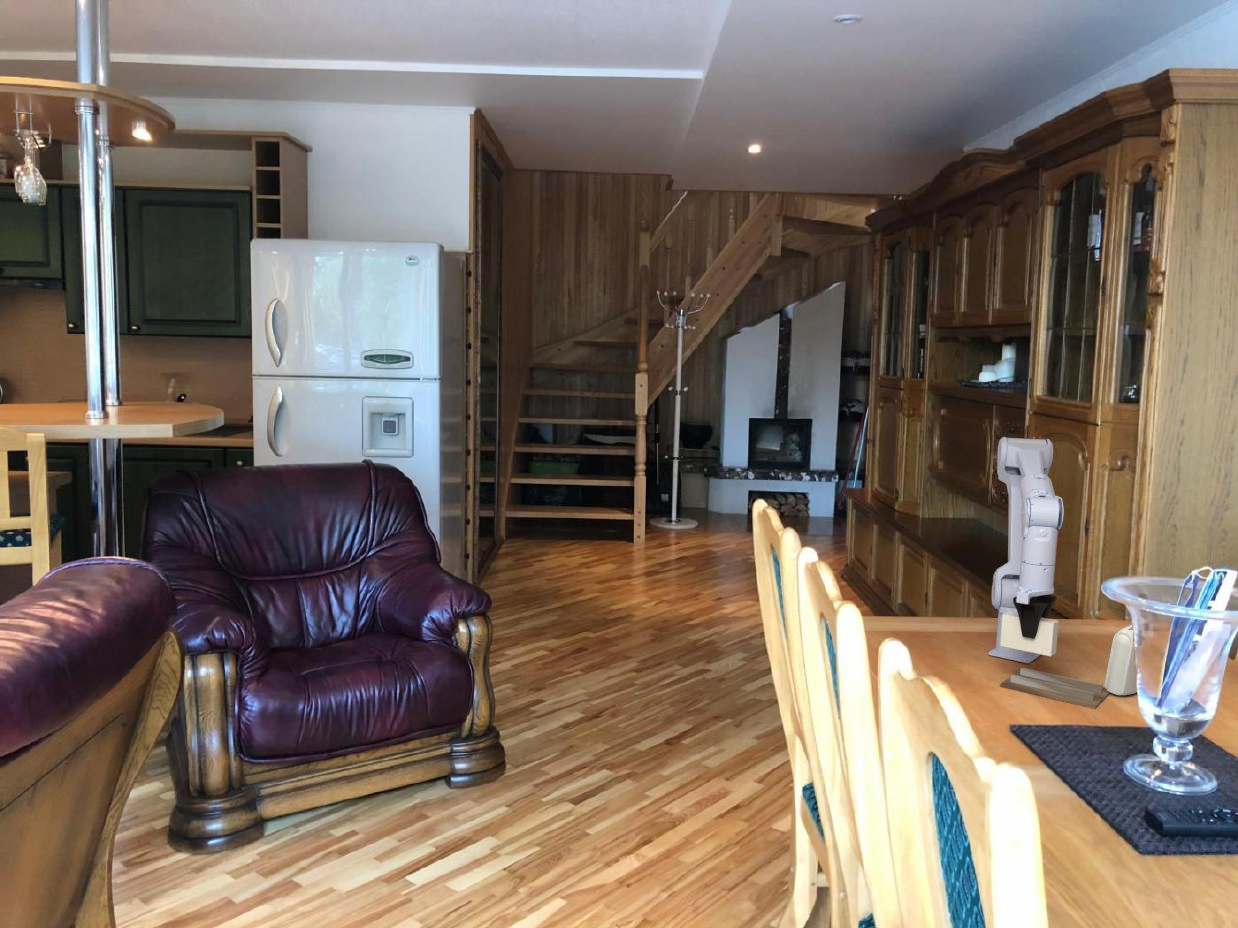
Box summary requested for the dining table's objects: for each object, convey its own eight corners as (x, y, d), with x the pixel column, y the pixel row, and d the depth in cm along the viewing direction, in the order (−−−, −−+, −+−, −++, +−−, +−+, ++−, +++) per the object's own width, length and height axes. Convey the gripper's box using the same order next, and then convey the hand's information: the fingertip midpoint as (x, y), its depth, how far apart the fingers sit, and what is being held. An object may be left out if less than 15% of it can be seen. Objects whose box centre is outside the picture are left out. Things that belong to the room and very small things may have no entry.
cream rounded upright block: (1130, 681, 181) (1142, 617, 179) (1153, 690, 178) (1166, 625, 176) (1099, 689, 176) (1111, 623, 173) (1122, 698, 172) (1135, 631, 170)
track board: (1020, 670, 186) (1021, 662, 186) (1112, 691, 176) (1112, 682, 176) (999, 686, 177) (1000, 677, 177) (1094, 708, 167) (1095, 699, 167)
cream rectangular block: (1005, 642, 183) (1008, 611, 183) (1056, 652, 178) (1058, 620, 177) (1000, 645, 181) (1002, 614, 180) (1050, 656, 175) (1053, 623, 175)
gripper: (1028, 553, 185) (1022, 623, 187) (1001, 564, 174) (995, 638, 176) (1067, 559, 181) (1061, 630, 182) (1042, 571, 170) (1036, 647, 171)
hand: (1031, 635), depth 179 cm, fingers closed on cream rectangular block, 3 cm apart
